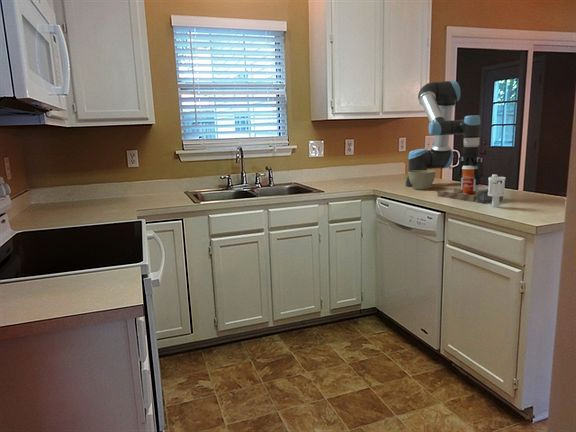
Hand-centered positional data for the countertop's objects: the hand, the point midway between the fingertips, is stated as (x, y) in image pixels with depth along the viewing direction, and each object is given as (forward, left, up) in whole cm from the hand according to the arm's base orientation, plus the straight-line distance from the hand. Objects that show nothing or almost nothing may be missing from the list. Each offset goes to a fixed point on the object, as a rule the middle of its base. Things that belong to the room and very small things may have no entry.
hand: (469, 190), depth 225 cm
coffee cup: (0, 0, -2) cm, 2 cm away
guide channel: (0, 0, -4) cm, 4 cm away
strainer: (+24, -10, -4) cm, 26 cm away
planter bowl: (-41, +6, -4) cm, 42 cm away
